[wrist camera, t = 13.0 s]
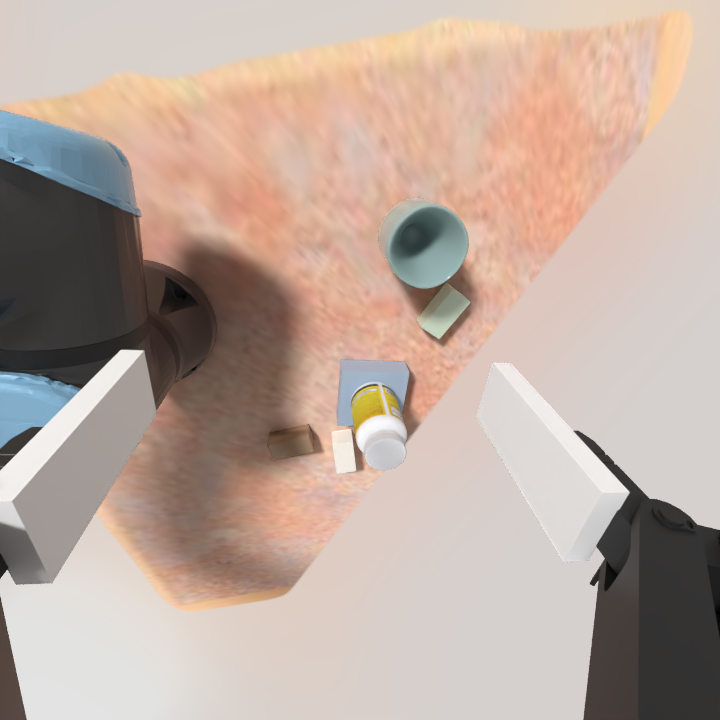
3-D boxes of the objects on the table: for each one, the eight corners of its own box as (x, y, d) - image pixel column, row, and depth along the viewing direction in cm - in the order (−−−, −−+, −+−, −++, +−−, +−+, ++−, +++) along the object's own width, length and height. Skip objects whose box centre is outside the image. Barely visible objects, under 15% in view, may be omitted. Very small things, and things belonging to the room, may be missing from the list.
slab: (336, 412, 56) (337, 425, 53) (340, 359, 51) (342, 370, 49) (396, 413, 57) (399, 426, 54) (404, 361, 53) (409, 372, 50)
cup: (452, 225, 44) (485, 243, 36) (407, 276, 47) (428, 304, 38) (405, 178, 41) (429, 185, 33) (359, 234, 44) (370, 255, 35)
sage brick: (433, 329, 51) (439, 339, 48) (416, 318, 50) (421, 327, 47) (462, 294, 49) (470, 302, 46) (445, 281, 48) (453, 289, 45)
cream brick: (354, 457, 60) (356, 471, 58) (335, 459, 60) (336, 473, 58) (351, 428, 58) (352, 441, 55) (331, 430, 57) (332, 443, 55)
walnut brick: (275, 446, 58) (273, 460, 55) (269, 432, 56) (267, 445, 54) (313, 438, 58) (313, 451, 55) (308, 423, 56) (308, 436, 54)
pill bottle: (345, 414, 52) (352, 473, 42) (356, 376, 49) (365, 430, 40) (388, 420, 53) (403, 478, 44) (400, 383, 51) (420, 437, 41)
